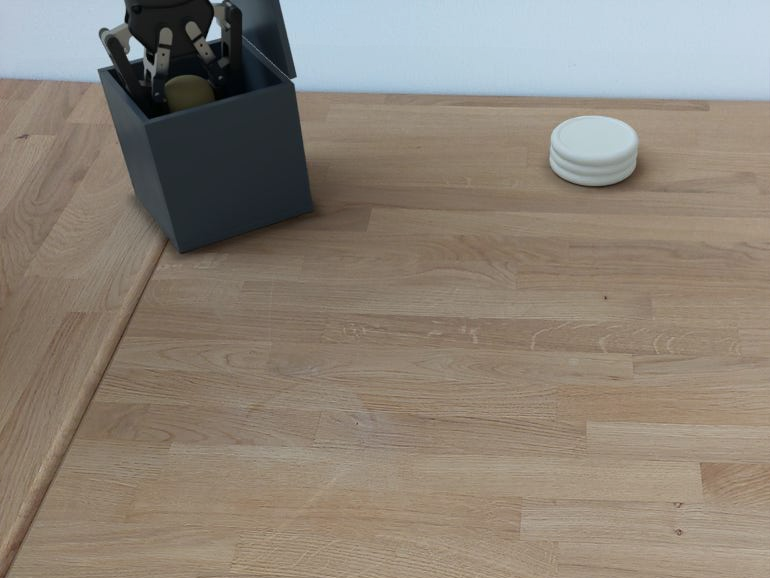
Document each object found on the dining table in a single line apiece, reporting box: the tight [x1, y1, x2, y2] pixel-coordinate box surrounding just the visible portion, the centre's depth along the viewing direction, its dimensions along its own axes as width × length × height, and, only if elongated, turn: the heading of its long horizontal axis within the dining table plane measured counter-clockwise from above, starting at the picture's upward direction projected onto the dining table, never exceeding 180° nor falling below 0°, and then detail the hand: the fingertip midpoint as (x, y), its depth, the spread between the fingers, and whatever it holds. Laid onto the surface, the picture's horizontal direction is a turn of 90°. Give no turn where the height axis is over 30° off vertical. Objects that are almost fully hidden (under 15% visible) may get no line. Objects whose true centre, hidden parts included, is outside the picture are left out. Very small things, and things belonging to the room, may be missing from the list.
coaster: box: [549, 115, 640, 187], centre depth 110 cm, size 10×10×4 cm
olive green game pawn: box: [164, 75, 215, 114], centre depth 101 cm, size 6×6×11 cm
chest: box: [96, 36, 314, 254], centre depth 102 cm, size 16×14×13 cm
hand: (195, 127), depth 100 cm, fingers closed on olive green game pawn, 5 cm apart
